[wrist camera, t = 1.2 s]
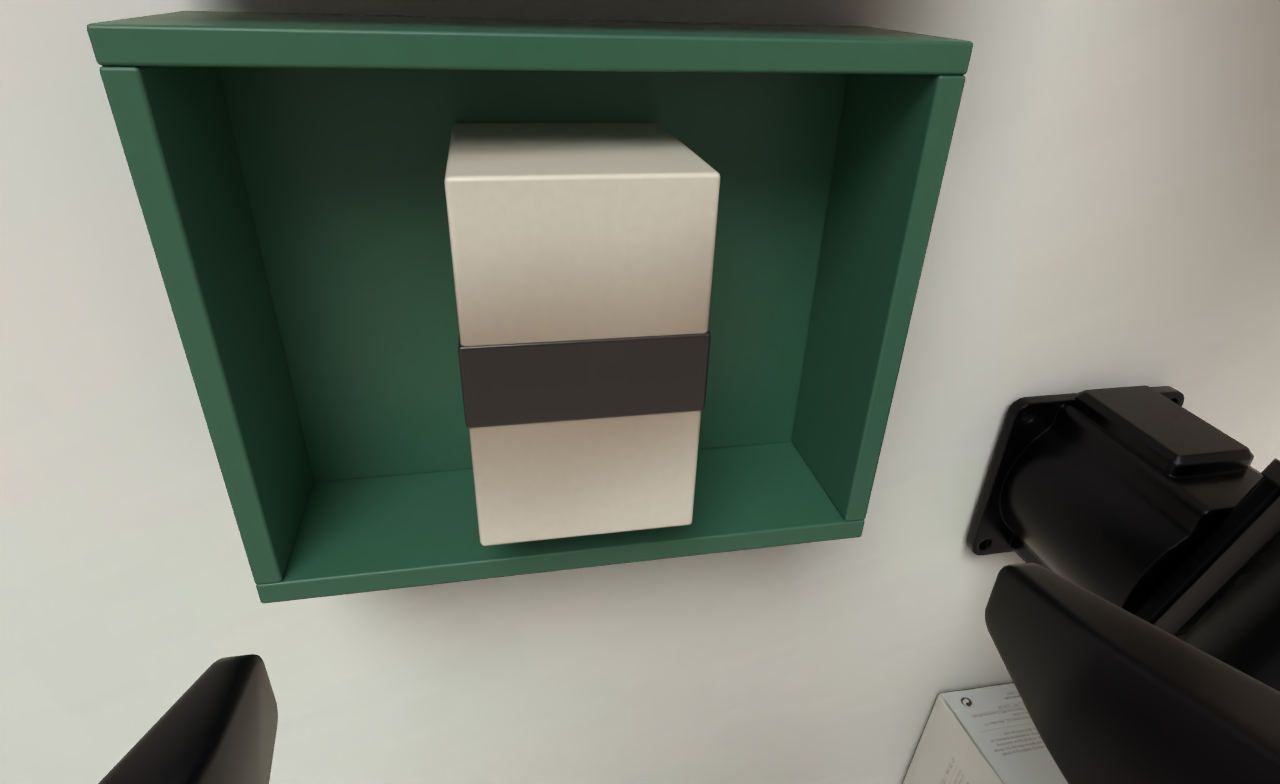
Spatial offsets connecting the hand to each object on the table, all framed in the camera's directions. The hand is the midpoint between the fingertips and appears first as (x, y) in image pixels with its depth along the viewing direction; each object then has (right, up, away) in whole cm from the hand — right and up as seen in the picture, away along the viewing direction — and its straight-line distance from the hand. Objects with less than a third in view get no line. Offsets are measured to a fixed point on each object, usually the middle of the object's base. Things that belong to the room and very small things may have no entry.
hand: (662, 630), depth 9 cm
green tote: (-2, +6, +11) cm, 12 cm away
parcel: (-2, +6, +10) cm, 12 cm away
